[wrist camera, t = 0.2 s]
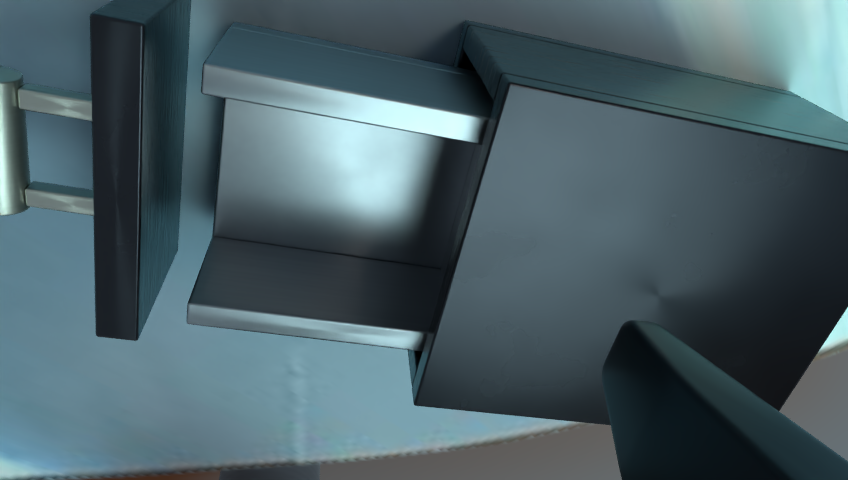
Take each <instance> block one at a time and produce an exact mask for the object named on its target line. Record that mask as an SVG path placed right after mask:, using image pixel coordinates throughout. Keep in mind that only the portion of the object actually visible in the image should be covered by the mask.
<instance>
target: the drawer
mask: <svg viewBox="0 0 848 480" xmlns="http://www.w3.org/2000/svg"><path fill="white" fill-rule="evenodd" d="M190 11H191V0H113V1H112V2H110V3H108V4H107V5H105V6H103V7H102V8H100V9H98V10H97V11H95V12H93V13H91V15H90V45H91V94H86V93H80V92H74V91H69V90H63V89H57V88H52V87H46V86H41V85H35V84H29V83H26V84H23V75H22V74H21V72H19V71H17V70H15V69H12V68H9V67H4V66H0V215H13V214H18V213H21V212H24V211H25V210H27V209H28V208H29V207H37V208H44V209H51V210H58V211H65V212H71V213H78V214H85V215H92V216H94V263H95V318H96V336H98V337H107V338H116V339H125V340H134V341H136V340H138V338H139V336H140V334H141V332H142V329H143V327H144V325H145V323H146V320H147V318H148V316H149V314H150V311H151V309H152V307H153V305H154V302H155V300H156V298H157V296H158V293H159V291H160V289H161V287H162V284H163V282H164V280H165V278H166V275H167V273H168V271H169V269H170V266H171V264H172V262H173V260H174V257H175V255H176V253H177V251H178V237H179V218H180V199H181V181H182V162H183V143H184V124H185V105H186V86H187V67H188V49H189V30H190ZM201 92H202V94H205V95H211V96H216V97H222V98H224V101H223V113H222V125H221V138H220V150H219V162H218V174H217V187H216V199H215V211H214V223H213V236H212V239H211V241H210V244H209V247H208V250H207V252H206V255H205V258H204V261H203V263H202V266H201V269H200V271H199V274H198V277H197V280H196V282H195V285H194V288H193V290H192V293H191V296H190V299H189V301H188V305H187V324H193V325H201V326H210V327H219V328H227V329H236V330H244V331H253V332H261V333H270V334H278V335H287V336H296V337H304V338H313V339H321V340H330V341H338V342H347V343H355V344H364V345H372V346H381V347H390V348H398V349H407V350H415V351H423V349H424V345H425V342H426V338H427V335H428V331H429V328H430V324H431V321H432V317H433V314H434V310H435V307H436V303H437V300H438V296H439V293H440V289H441V286H442V282H443V279H444V275H445V272H446V268H447V265H448V262H449V258H450V255H451V251H452V248H453V244H454V241H455V237H456V234H457V230H458V227H459V223H460V220H461V216H462V213H463V209H464V206H465V202H466V199H467V195H468V192H469V188H470V185H471V181H472V178H473V174H474V171H475V167H476V164H477V160H478V157H479V154H480V150H481V147H482V143H483V140H484V136H485V133H486V129H487V126H488V122H489V119H490V115H491V112H492V108H493V105H494V100H493V99H492V97H491V95H490V94H489V92H488V90H487V89H486V87H485V85H484V83H483V82H482V80H481V78H480V77H479V75H478V73H477V71H472V70H468V69H463V68H458V67H453V66H448V65H443V64H438V63H433V62H429V61H424V60H419V59H414V58H409V57H404V56H399V55H394V54H390V53H385V52H380V51H375V50H370V49H365V48H360V47H356V46H351V45H346V44H341V43H336V42H331V41H326V40H321V39H317V38H312V37H307V36H302V35H297V34H292V33H287V32H283V31H278V30H273V29H268V28H263V27H258V26H253V25H248V24H244V23H239V22H234V23H233V24H232V26H231V27H230V28H229V29H228V30H227V32H226V33H225V35H224V36H223V37H222V39H221V40H220V42H219V43H218V44H217V46H216V47H215V48H214V50H213V51H212V53H211V54H210V55H209V57H208V58H207V60H206V61H205V62H204V64H203V72H202V87H201ZM25 110H28V111H34V112H40V113H46V114H52V115H58V116H64V117H70V118H75V119H81V120H87V121H92V154H93V190H90V189H83V188H77V187H70V186H63V185H57V184H50V183H43V182H37V181H33V182H32V183H31V184H30V171H29V157H28V142H27V128H26V113H25Z"/></svg>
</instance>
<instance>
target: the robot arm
mask: <svg viewBox="0 0 848 480" xmlns="http://www.w3.org/2000/svg"><path fill="white" fill-rule="evenodd" d="M602 382H603V388H604V393H605V398H606V403H607V408H608V413H609V418H610V423H611V428H612V433H613V439H614V444H615V449H616V454H617V459H618V464H619V468H620V473H621V477H622V480H848V461H847V460H845V459H844V458H842V457H841V456H840V455H838V454H837V453H836V452H834V451H833V450H831V449H830V448H829V447H827V446H826V445H825V444H823V443H822V442H820V441H819V440H818V439H816V438H815V437H813V436H812V435H811V434H809V433H808V432H806V431H805V430H804V429H802V428H801V427H800V426H798V425H797V424H796V423H794V422H793V421H791V420H790V419H789V418H787V417H786V416H785V415H783V414H782V413H780V412H779V411H778V410H776V409H775V408H773V407H772V406H771V405H769V404H768V403H767V402H765V401H764V400H762V399H761V398H760V397H758V396H757V395H756V394H754V393H753V392H751V391H750V390H749V389H747V388H746V387H745V386H743V385H742V384H740V383H739V382H738V381H736V380H735V379H734V378H732V377H731V376H729V375H728V374H727V373H725V372H724V371H722V370H721V369H720V368H718V367H717V366H716V365H714V364H713V363H711V362H710V361H709V360H707V359H706V358H705V357H703V356H702V355H700V354H699V353H698V352H696V351H695V350H694V349H692V348H691V347H689V346H688V345H687V344H685V343H684V342H682V341H681V340H680V339H678V338H677V337H676V336H674V335H673V334H671V333H670V332H669V331H667V330H666V329H665V328H663V327H662V326H660V325H659V324H657V323H654V322H646V321H637V320H629V321H627V322H625V323H624V324H623V325H622V326H621V328H620V330H619V332H618V334H617V337H616V339H615V341H614V343H613V345H612V347H611V349H610V352H609V354H608V356H607V358H606V360H605V363H604V366H603V370H602Z"/></svg>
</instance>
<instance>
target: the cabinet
mask: <svg viewBox="0 0 848 480" xmlns="http://www.w3.org/2000/svg"><path fill="white" fill-rule="evenodd" d="M453 67H458V68H463V69H468V70H472V71H477V73H478V75H479V77H480V78H481V80H482V82H483V83H484V85H485V87H486V89H487V90H488V92H489V94H490V95H491V97H492V99H493V100H494V105H493V108H492V112H491V115H490V119H489V122H488V126H487V129H486V133H485V136H484V140H483V143H482V147H481V150H480V154H479V157H478V160H477V164H476V167H475V171H474V174H473V178H472V181H471V185H470V188H469V192H468V195H467V199H466V202H465V206H464V209H463V213H462V216H461V220H460V223H459V227H458V230H457V234H456V237H455V241H454V244H453V248H452V251H451V255H450V258H449V262H448V265H447V268H446V272H445V275H444V279H443V282H442V286H441V289H440V293H439V296H438V300H437V303H436V307H435V310H434V314H433V317H432V321H431V324H430V328H429V331H428V335H427V338H426V342H425V345H424V349H423V351H415V350H408V356H409V365H410V374H411V383H412V393H413V401H414V405H416V406H425V407H435V408H445V409H455V410H465V411H475V412H485V413H495V414H505V415H515V416H525V417H535V418H545V419H555V420H565V421H575V422H585V423H595V424H605V425H611V423H610V418H609V413H608V408H607V403H606V398H605V393H604V388H603V382H602V370H603V366H604V363H605V360H606V358H607V356H608V354H609V352H610V349H611V347H612V345H613V343H614V341H615V339H616V337H617V334H618V332H619V330H620V328H621V326H622V325H623V324H624V323H625V322H627V321H629V320H637V321H646V322H654V323H657V324H659V325H660V326H662V327H663V328H665V329H666V330H667V331H669V332H670V333H671V334H673V335H674V336H676V337H677V338H678V339H680V340H681V341H682V342H684V343H685V344H687V345H688V346H689V347H691V348H692V349H694V350H695V351H696V352H698V353H699V354H700V355H702V356H703V357H705V358H706V359H707V360H709V361H710V362H711V363H713V364H714V365H716V366H717V367H718V368H720V369H721V370H722V371H724V372H725V373H727V374H728V375H729V376H731V377H732V378H734V379H735V380H736V381H738V382H739V383H740V384H742V385H743V386H745V387H746V388H747V389H749V390H750V391H751V392H753V393H754V394H756V395H757V396H758V397H760V398H761V399H762V400H764V401H765V402H767V403H768V404H769V405H771V406H772V407H773V408H775V409H776V410H778V411H780V409H781V408H782V406H783V405H784V403H785V402H786V400H787V399H788V397H789V395H790V394H791V392H792V391H793V389H794V388H795V386H796V385H797V383H798V382H799V380H800V379H801V377H802V376H803V374H804V373H805V371H806V370H807V368H808V366H809V365H810V364H811V362H812V361H813V359H814V357H815V356H816V354H817V353H818V351H819V350H820V348H821V347H822V345H823V344H824V342H825V341H826V339H827V338H828V336H829V335H830V333H831V332H832V330H833V329H834V327H835V326H836V324H837V322H838V321H839V319H840V318H841V316H842V315H843V313H844V312H845V310H846V309H847V307H848V122H847V121H845V120H843V119H841V118H839V117H838V116H836V115H834V114H832V113H830V112H828V111H826V110H824V109H822V108H821V107H819V106H817V105H815V104H813V103H811V102H809V101H807V100H806V99H804V98H801V97H800V96H798V95H796V94H794V93H792V92H790V91H786V90H781V89H777V88H772V87H768V86H763V85H759V84H754V83H750V82H745V81H741V80H736V79H732V78H727V77H722V76H718V75H713V74H709V73H704V72H700V71H695V70H691V69H686V68H682V67H677V66H673V65H668V64H663V63H659V62H654V61H650V60H645V59H641V58H636V57H632V56H627V55H623V54H618V53H614V52H609V51H605V50H600V49H595V48H591V47H586V46H582V45H577V44H573V43H568V42H564V41H559V40H555V39H550V38H546V37H541V36H537V35H532V34H527V33H523V32H518V31H514V30H509V29H505V28H500V27H496V26H491V25H487V24H482V23H478V22H473V21H469V20H467V21H465V22H464V25H463V29H462V33H461V37H460V41H459V45H458V49H457V53H456V57H455V61H454V65H453Z"/></svg>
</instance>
